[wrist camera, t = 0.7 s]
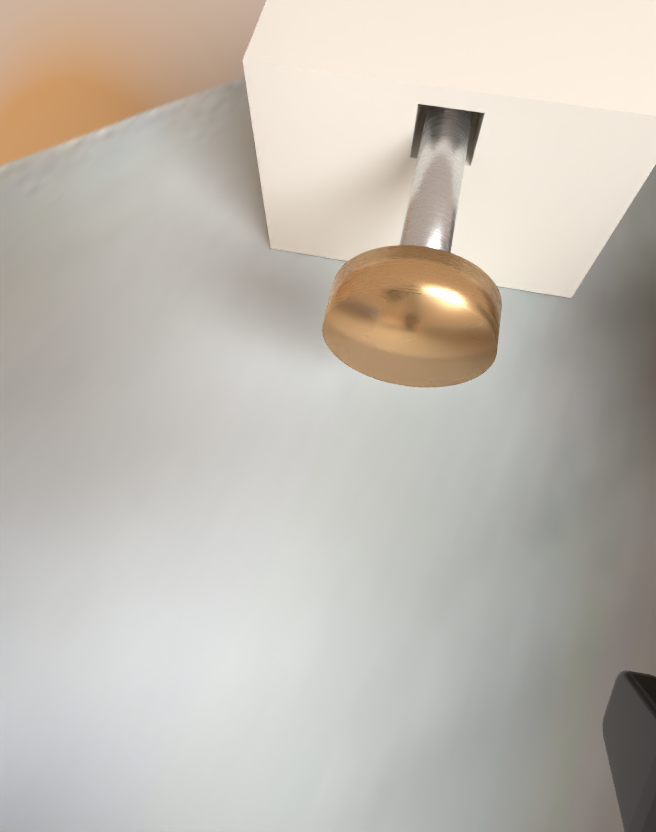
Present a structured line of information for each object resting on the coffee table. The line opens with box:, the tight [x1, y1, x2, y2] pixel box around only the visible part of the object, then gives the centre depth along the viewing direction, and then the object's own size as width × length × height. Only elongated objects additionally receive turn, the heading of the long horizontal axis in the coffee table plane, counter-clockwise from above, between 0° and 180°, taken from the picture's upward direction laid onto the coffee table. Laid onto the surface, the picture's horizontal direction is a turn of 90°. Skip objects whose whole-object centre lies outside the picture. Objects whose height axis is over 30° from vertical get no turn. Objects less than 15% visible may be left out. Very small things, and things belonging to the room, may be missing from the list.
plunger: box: [322, 105, 502, 387], centre depth 19 cm, size 11×5×5 cm, turn 168°
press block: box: [242, 0, 656, 298], centre depth 24 cm, size 8×14×9 cm, turn 78°
